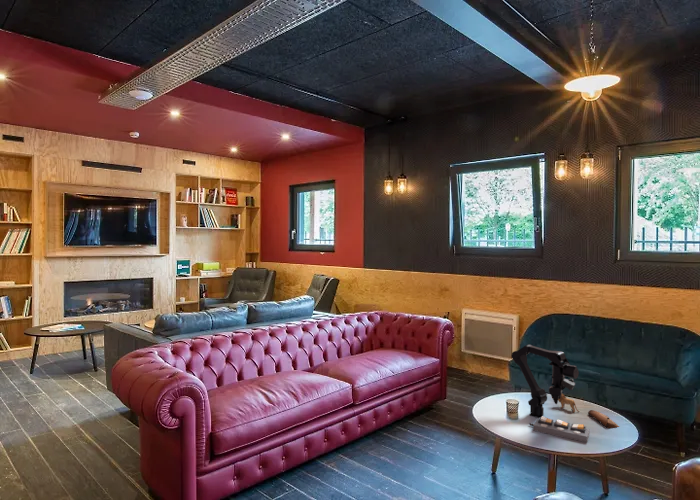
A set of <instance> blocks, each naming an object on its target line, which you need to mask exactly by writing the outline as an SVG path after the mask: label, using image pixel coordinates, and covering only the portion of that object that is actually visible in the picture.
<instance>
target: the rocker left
mask: <svg viewBox="0 0 700 500" xmlns="http://www.w3.org/2000/svg"><path fill="white" fill-rule="evenodd" d="M539 419H540V418H539ZM540 420H541V421H544V422H548V423H551V422H552V420H553V419H550V418H548V417H546V416H544V415H543V416H542V417H541V419H540Z"/></svg>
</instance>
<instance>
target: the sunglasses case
mask: <svg viewBox="0 0 700 500" xmlns="http://www.w3.org/2000/svg"><path fill="white" fill-rule="evenodd" d="M587 415H588V416H590V417H591V418H593V419H595V420H596V421H598V422H599V423H600V424H602V425H603V426H604V427H606V429H616V428H617V427H620V426H619V425H618V424H617V423H616V422H614V420H612V419H611V418H610V417H609V416H607V415H606V414H605V413H601V412H599V411H597V410H593V409H589V410H588V412H587ZM617 429H618V428H617Z"/></svg>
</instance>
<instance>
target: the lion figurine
mask: <svg viewBox="0 0 700 500" xmlns="http://www.w3.org/2000/svg"><path fill="white" fill-rule="evenodd" d="M558 402H559V403H560V405H561V406H560V409H564V408H565V406H566V405H567V406H568V405H569V406H570V408H571V410H572V413H576V412H578V413H579V412H580V411H579V410H578V409H577V406H576V403H575V402H576V401H575V400H573V399H571V398H567V396H565V394H564V393H562V394H561V398H560V399H558Z"/></svg>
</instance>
